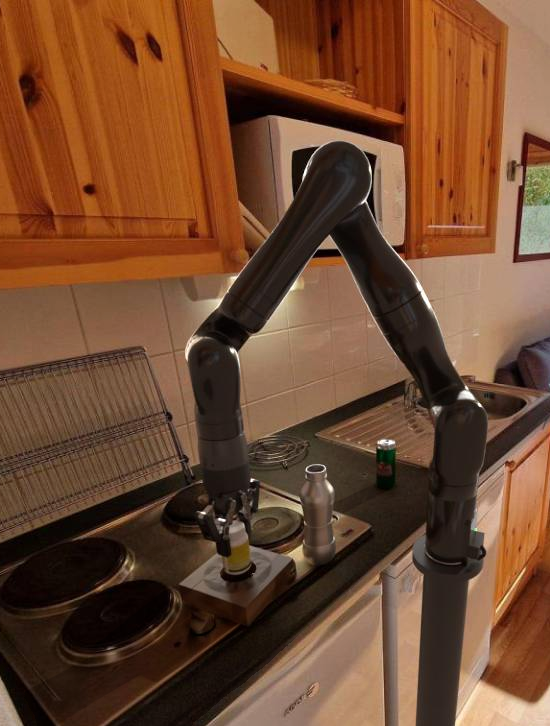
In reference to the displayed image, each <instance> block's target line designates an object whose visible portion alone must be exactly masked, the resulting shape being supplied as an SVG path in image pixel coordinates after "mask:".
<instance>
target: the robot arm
mask: <svg viewBox="0 0 550 726" xmlns="http://www.w3.org/2000/svg"><path fill="white" fill-rule="evenodd" d="M371 167H372V166H371V164H370V162H369V159H368V157H367V156H366V154H365V152H364V151H363V150H362V149H361V148H359V147H358V146H357V145H356V144H354V143H352V142H350V141H347V140H332V141H329V142H327V143H324V144H322V145H321V146H320V147H318V148H317V149H316V150H315V151H314V153H313V154H312V155H311V157H310V159H309V160H308V162H307V165H306V167H305V169H304V173H303V175H302V182H301V184H300V186H299V188H298V190H297V192H296V194H295V196H294V198H293V200H292V201H291V203H290V205H289V207H288V208H287V209H286V211H285V212H284V214H283V216H282V217H281V219H280V220H279V221H278V223H277V224H276V226H275V227H274V228H273V230H272V231H271V232H270V234H269V235H268V237H266V239H265V240H264V241H263V243H262V244H261V245H260V246H259V248H258V249H257V250H256V252H255V253H254V254H253V256H252V257H251V258H250V259H249V261H248V262H247V263H246V265H245V266H244V267H243V268H242V269H241V271H240V272H239V274H238V275H237V277H236V278H235V280H234V281H233V282H232V284H231V285H230V286H229V288H228V289H227V291H226V292H225V294H224V295H223V297H222V299H221V300H220V302H219V303H218V305H217V306H216V307H215V309H213V310H212V311H211V312H210V314H209V315H207V316H206V318H205V319H204V320H202V322H201V324H200V325H199V326H198V327H197V328H196V330H195V331H194V332H193V334H192V335H191V336H190V338H189V339H188V341H187V343H186V346H185V350H184V355H185V360H186V364H187V369H188V374H189V379H190V383H191V389H192V393H193V398H194V407H193V408H194V421H195V429H196V435H197V455H198V460H199V467H200V474H201V481H202V486H203V488H204V490H205V492H206V493H207V496H208V497H207V498H208V499H207V506H206V507H205V508H204V509H203V510H202V511H199V510H197V511H196V512H195V513H194V515H193V516H194V519H195V522H196V524H197V526H198V528H199V530H200V533H201V535H202V537H203V539H204V540H207V541H209V542H212V543H215V550H216V553H218V554H219V555H220V556H223V557H227V558H228V557H229V556H230V555H231V547H230V539H229V537H228V536H229V528H230V526H231V525H232V524H233V521H234V516H236V518H237V520H236V521H241V522H243V523H244V526H245V532H246V533H247V535H248V539H249V540H251V539H252V523H251V521H252V519H253V514H257V513H258V511H259V505H260V504H259V503H260V491H261V490H260V489H261V481H260V480H258V479H254V478H252V475H251V465H250V457H249V456H250V455H249V447H248V440H247V436H246V434H245V433H246V432H245V426H244V425H245V424H244V417H243V409H242V403H241V367H240V366H241V365H240V359H239V358H240V357H239V354H238V353H239V352H240V351H241V349H242V348H243V347H244V346H245V344H246V343H247V342H248V340H249V339H250V338H251V337H252V336H253V335H257V334H258V333H260V332H261V331H262V330H263V329H264V328H265V326H267V324H268V323H269V321H270V320H271V318H272V317H273V315H274V314H275V313H276V311H277V310H278V308H279V307H280V306H281V304H282V303H283V301H284V300H285V298H286V297H287V296H288V294H289V293H290V291H291V289H292V288H293V287H294V285H295V283H296V282H297V280H298V278H299V277H300V275H301V274H302V272H303V271H304V269H305V268H306V266H307V265H308V264H309V262H310V260H311V259H312V258H313V256H314V255H315V253H316V252H317V251H318V249H320V247H321V246H322V244H323V243H324V242H325V240H327V238H328V237H330V239H331V241H332V242H333V243H334V245H335V247H336V248H337V250H338V251H339V253H340V254H341V257H342V258H343V259H344V262H345V263H346V265H347V267H348V270H349V272H350V274H351V276H352V279H353V280H354V283H355V285H356V287H357V289H358V291H359V293H360V295H361V297H362V300H363V301H364V303H365V305H366V306H367V309H368V312H369V313H370V314H371V317H372V319H373V320H374V322H375V324H376V325H377V327H378V330H379V332H380V333H381V335H382V336H383V338H384V339H385V341H386V343H387V345H388V346H389V347H390V349H391V350H392V352H393V353H394V355H395V356H396V357H397V359H398V360H399V362H401V363H402V365H403V366H404V367H405V368H406V370H407V371H408V373H409V374H410V375H411V378H412V379H413V381H414V382H415V384H416V387H417V388H418V391H419V393H420V395H421V398H422V400H423V402H424V405H425V409H426V410H427V413H428V416H429V419H430V422H431V425H432V427H433V429H434V433H433V434H434V436H433V438H434V439H433V449H432V450H433V451H432V457H431V459H430V460H429V464H428V481H427V501H426V519H425V520H426V521H425V535H426V539H425V548H424V551H425V554H426V556H427V557H428V558H429V559H430V560H431V561H433V562H435V563H437V564H440V565H444V566H459V565H463V566H467V565H468V563H469V560H470V559H471V558H472V559H476V560H478V561H480V560H481V559H483V558H484V559H485V557H486V556H487V549H486V548H485V546H484V544H485V532H483V531H478V529H477V523H478V515H479V513H478V512H479V511H478V510H479V509H478V508H477V498H478V491H479V490H478V488H479V478H480V471H481V470H482V468H483V465H484V463H485V462H484V461H485V455H486V449H487V441H488V431H489V418H488V417H489V416H488V413H487V411H486V409H485V408H484V406H483V405H482V403H480V401H479V399H478V398H477V397H476V396H475V395H474V393H472V391H471V390H470V388H469V387H468V386H467V384H466V383H465V382H464V380H463V379H462V377H461V375H460V374H459V372H458V370H457V369H456V367H455V366H454V364H453V362H452V360H451V358H450V356H449V353H448V350H447V348H446V343H445V340H444V336H443V333H442V330H441V326H440V324H439V321H438V318H437V316H436V313H435V311H434V309H433V307H432V305H431V303H430V301H429V299H428V296H427V295H426V293H425V291H424V289H423V286H422V285H421V283H420V282H419V280H418V278H417V277H416V275H415V274H414V273H413V271H412V270H411V268H410V267H409V265H408V264H407V263H406V262H405V261H404V260H403V259H402V256H401V257H400V255H399V254H398V253H397V251H396V250H395V249H394V248H393V247H392V246H391V245H390V243H389V242H388V241H387V239H386V238H385V237H384V235H383V234H382V232H381V230H380V228H379V226H378V224H377V222H376V220H375V217H374V216H373V213H372V211H371V209H370V206H369V204H368V202H367V199H368V197H369V194H370V192H371V188H372V182H373V181H372V178H373V177H372V176H373V175H372V168H371ZM250 500H251V501H252V503H251V504H250ZM221 526H222V527H223V528H222V531H220V528H221ZM481 551H482V554H481V555H480V552H481ZM479 555H480V556H479Z"/></svg>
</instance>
